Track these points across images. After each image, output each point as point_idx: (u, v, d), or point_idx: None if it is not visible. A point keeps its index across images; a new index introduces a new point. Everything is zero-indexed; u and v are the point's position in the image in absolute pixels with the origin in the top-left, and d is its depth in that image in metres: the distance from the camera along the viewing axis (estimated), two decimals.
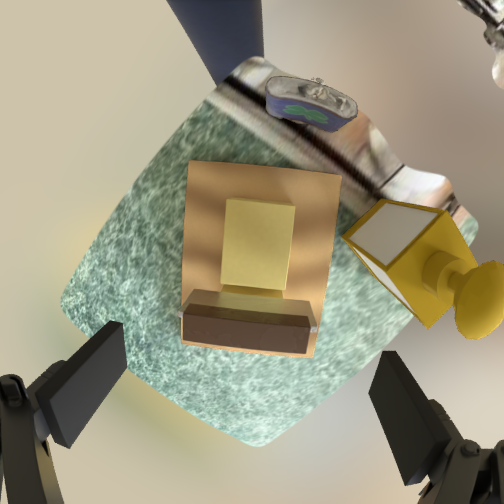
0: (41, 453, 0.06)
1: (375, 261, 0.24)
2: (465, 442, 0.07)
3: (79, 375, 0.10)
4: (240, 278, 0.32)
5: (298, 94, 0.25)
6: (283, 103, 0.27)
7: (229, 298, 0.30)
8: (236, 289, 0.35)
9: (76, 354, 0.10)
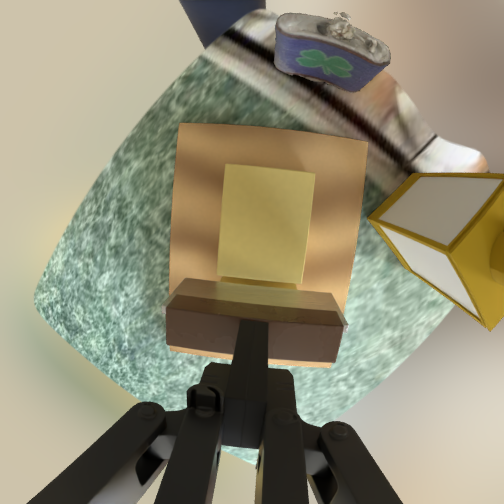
0: (213, 469, 0.07)
1: (428, 241, 0.17)
2: (276, 411, 0.09)
3: None
4: (243, 269, 0.25)
5: (317, 33, 0.18)
6: (297, 47, 0.20)
7: (230, 289, 0.23)
8: (238, 283, 0.27)
9: (236, 354, 0.12)
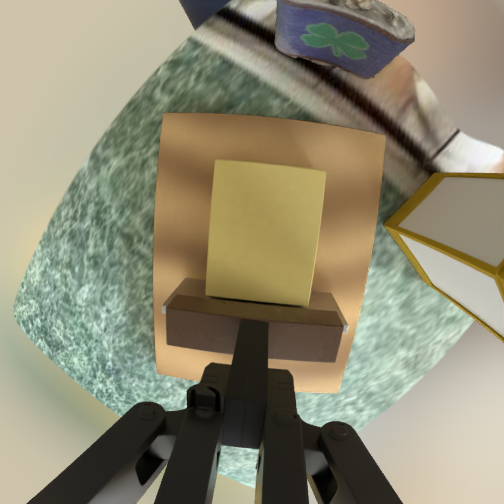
0: (214, 469, 0.07)
1: (469, 260, 0.12)
2: (276, 411, 0.09)
3: None
4: (238, 288, 0.20)
5: (327, 3, 0.13)
6: (303, 20, 0.15)
7: None
8: None
9: (236, 354, 0.12)
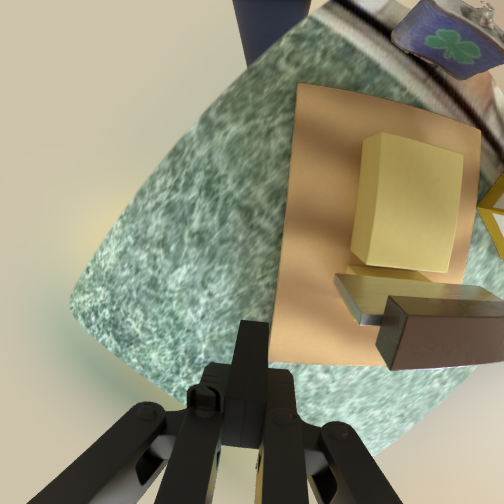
0: (213, 469, 0.07)
1: None
2: (276, 411, 0.09)
3: None
4: (396, 256, 0.19)
5: (463, 16, 0.12)
6: (439, 25, 0.14)
7: (400, 285, 0.16)
8: (375, 275, 0.22)
9: (236, 354, 0.12)
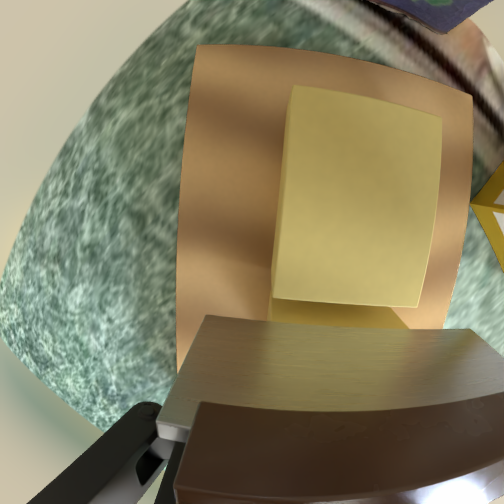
0: None
1: None
2: None
3: None
4: (324, 285, 0.13)
5: None
6: None
7: (313, 342, 0.10)
8: (304, 308, 0.15)
9: None
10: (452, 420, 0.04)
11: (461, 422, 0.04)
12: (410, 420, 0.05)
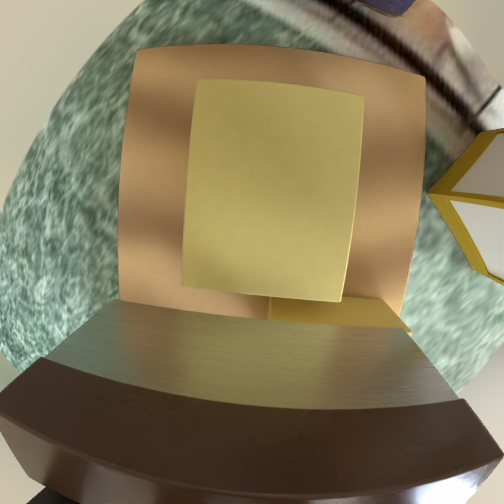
0: None
1: None
2: None
3: None
4: (231, 275, 0.13)
5: None
6: None
7: (197, 329, 0.10)
8: (304, 308, 0.15)
9: None
10: (265, 428, 0.05)
11: (276, 434, 0.04)
12: (208, 414, 0.05)
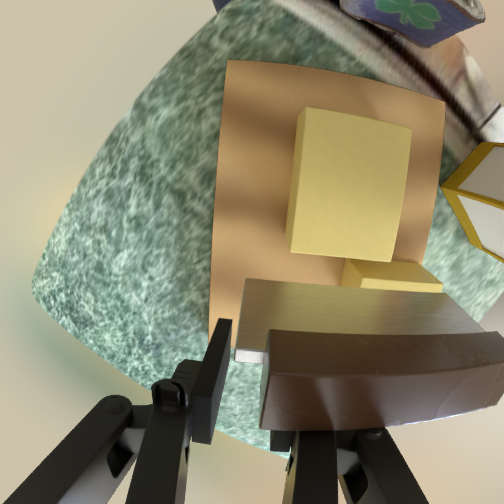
0: (183, 463, 0.07)
1: None
2: None
3: (220, 370, 0.12)
4: (325, 243, 0.19)
5: None
6: None
7: (326, 297, 0.14)
8: (374, 268, 0.21)
9: (209, 351, 0.12)
10: (421, 344, 0.09)
11: (427, 345, 0.09)
12: (394, 341, 0.09)
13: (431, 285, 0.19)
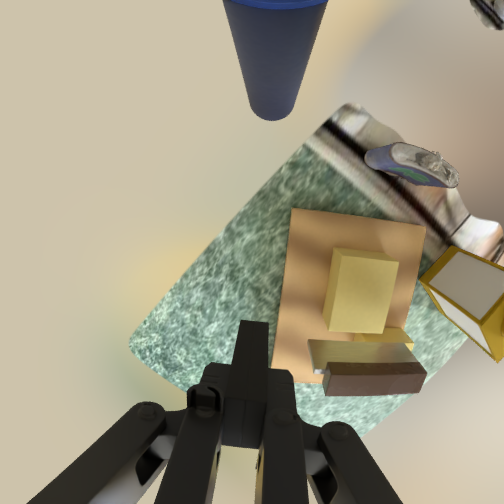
0: (214, 469, 0.07)
1: (467, 314, 0.25)
2: (276, 411, 0.09)
3: None
4: (347, 326, 0.33)
5: (415, 162, 0.26)
6: (397, 166, 0.28)
7: (344, 347, 0.30)
8: (373, 334, 0.35)
9: (236, 354, 0.12)
10: (381, 366, 0.25)
11: (383, 366, 0.25)
12: (370, 364, 0.25)
13: (406, 344, 0.33)
